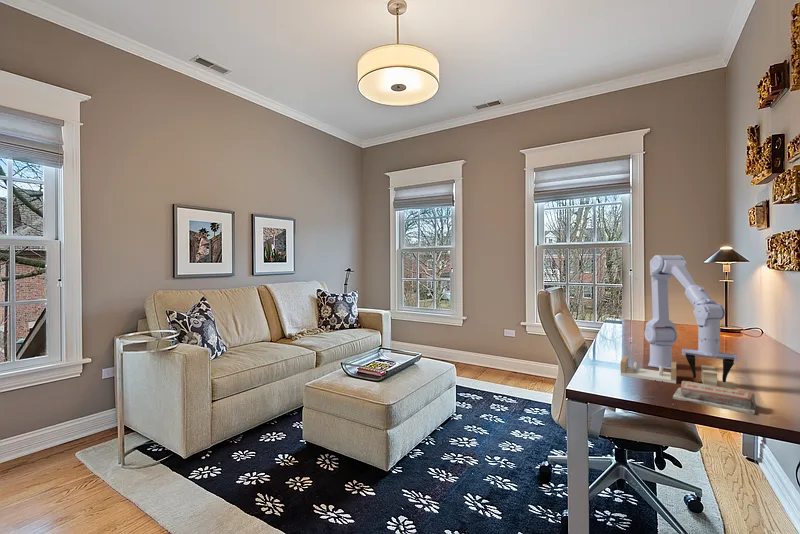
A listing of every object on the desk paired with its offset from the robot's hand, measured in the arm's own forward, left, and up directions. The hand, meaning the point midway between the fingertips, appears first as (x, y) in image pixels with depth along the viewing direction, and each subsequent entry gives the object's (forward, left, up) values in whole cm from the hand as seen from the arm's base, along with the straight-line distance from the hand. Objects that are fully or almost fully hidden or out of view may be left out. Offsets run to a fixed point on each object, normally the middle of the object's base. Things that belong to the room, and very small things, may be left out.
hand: (709, 379), depth 127 cm
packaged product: (+22, 0, -2) cm, 22 cm away
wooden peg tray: (+1, -17, -1) cm, 17 cm away
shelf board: (0, 0, -2) cm, 2 cm away
